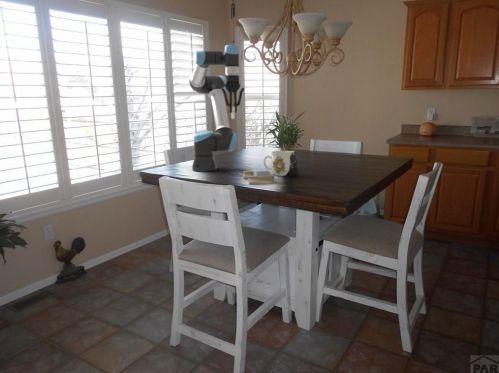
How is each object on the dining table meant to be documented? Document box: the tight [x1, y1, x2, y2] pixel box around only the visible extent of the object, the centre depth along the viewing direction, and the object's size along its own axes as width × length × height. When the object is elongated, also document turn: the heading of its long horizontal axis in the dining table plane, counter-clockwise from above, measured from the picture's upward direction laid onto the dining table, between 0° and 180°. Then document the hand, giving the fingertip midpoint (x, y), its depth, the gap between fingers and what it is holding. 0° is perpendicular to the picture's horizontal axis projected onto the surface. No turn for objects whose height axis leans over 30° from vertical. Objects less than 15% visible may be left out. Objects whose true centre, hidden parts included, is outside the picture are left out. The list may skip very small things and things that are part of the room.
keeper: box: [253, 167, 270, 176], centre depth 214 cm, size 7×7×6 cm
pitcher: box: [263, 150, 295, 177], centre depth 228 cm, size 11×18×14 cm, turn 76°
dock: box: [242, 170, 275, 185], centre depth 214 cm, size 15×14×4 cm
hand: (233, 118), depth 222 cm, fingers closed
